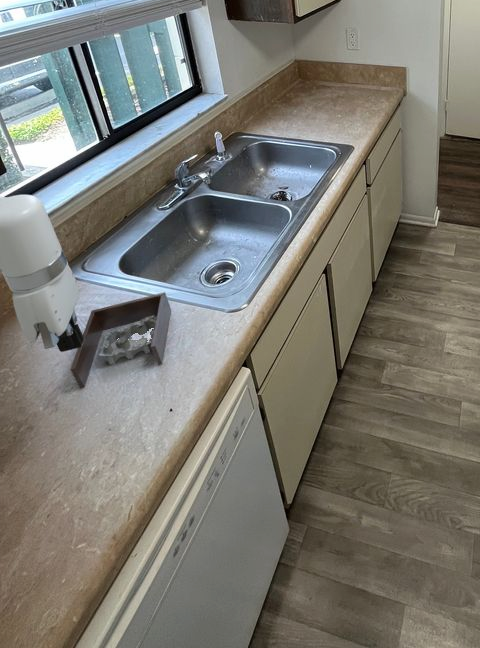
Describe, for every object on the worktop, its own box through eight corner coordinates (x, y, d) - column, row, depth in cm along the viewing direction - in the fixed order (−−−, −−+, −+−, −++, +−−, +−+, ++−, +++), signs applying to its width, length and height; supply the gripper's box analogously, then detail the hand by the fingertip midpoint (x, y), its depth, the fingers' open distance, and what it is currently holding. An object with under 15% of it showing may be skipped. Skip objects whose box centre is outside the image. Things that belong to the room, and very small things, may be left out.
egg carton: (162, 325, 102) (157, 313, 100) (156, 353, 96) (151, 341, 94) (110, 338, 99) (105, 325, 98) (100, 368, 93) (94, 355, 91)
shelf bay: (80, 388, 89) (70, 369, 86) (99, 328, 102) (91, 310, 99) (162, 364, 93) (155, 345, 91) (171, 309, 106) (165, 291, 103)
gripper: (27, 242, 75) (62, 317, 82) (-16, 312, 62) (29, 393, 70) (78, 232, 77) (107, 306, 85) (47, 298, 64) (84, 378, 72)
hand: (72, 345), depth 77 cm, fingers closed
